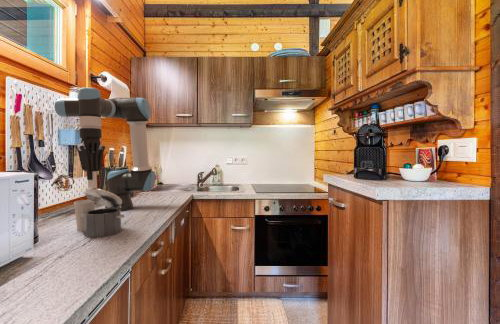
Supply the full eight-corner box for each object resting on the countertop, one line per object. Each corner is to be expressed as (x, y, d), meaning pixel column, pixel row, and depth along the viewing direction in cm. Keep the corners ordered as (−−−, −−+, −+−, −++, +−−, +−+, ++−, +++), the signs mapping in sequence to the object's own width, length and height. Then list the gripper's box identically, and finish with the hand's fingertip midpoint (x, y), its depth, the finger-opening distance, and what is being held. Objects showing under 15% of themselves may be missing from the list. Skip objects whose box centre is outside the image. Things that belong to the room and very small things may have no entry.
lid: (100, 207, 124) (102, 201, 125) (129, 208, 121) (131, 202, 123) (76, 189, 112) (80, 183, 113) (108, 190, 109) (111, 184, 110)
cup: (86, 231, 118) (85, 203, 118) (70, 230, 120) (69, 203, 119) (99, 226, 126) (99, 200, 125) (84, 225, 127) (83, 199, 127)
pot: (98, 226, 126) (97, 205, 125) (135, 228, 122) (134, 206, 121) (70, 236, 111) (70, 212, 111) (112, 238, 107) (111, 213, 107)
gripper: (94, 129, 116) (96, 185, 117) (68, 127, 104) (70, 190, 104) (110, 129, 115) (112, 185, 116) (85, 126, 102) (88, 190, 103)
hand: (92, 187), depth 110 cm, fingers closed
